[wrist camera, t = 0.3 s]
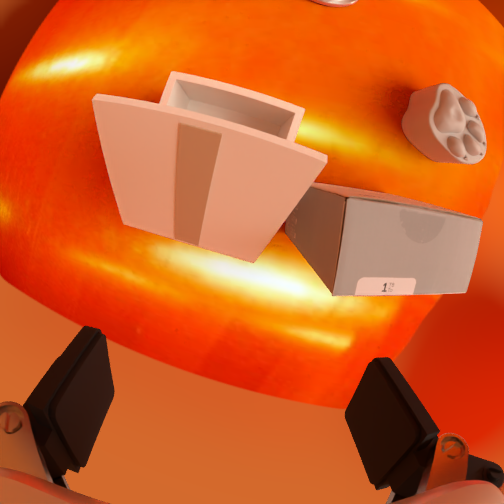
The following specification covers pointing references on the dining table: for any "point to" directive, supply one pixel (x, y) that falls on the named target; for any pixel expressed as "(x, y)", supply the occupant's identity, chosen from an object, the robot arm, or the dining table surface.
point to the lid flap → (201, 175)
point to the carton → (233, 104)
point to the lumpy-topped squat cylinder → (444, 125)
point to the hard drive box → (383, 242)
